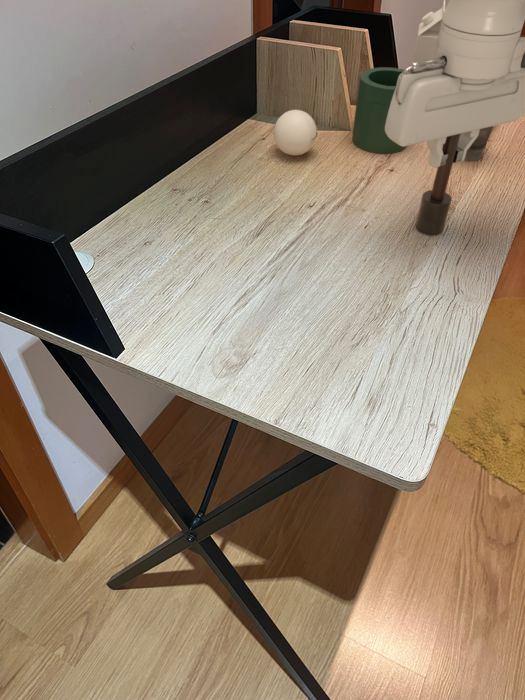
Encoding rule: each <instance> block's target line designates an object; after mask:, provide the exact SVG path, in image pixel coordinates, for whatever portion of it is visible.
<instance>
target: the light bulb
mask: <svg viewBox="0 0 525 700" xmlns="http://www.w3.org/2000/svg"><path fill="white" fill-rule="evenodd" d="M317 136H318V131H317V125H316V123H315V120H314V118H313V117H312V116H311V115H310V114H309V113H307V111H303V110H300V109H291V110H288V111H286V112H284V113H283V114H282V115H280V116H279V117H278V119H277V120H276V122H275V125H274V129H273V140H274V142H275V144H276V145H277V148H278V149H279V150H280V151H282V153H284V154H286V155H289V156H293V157H295V156H301V155H305V154H306V153H307V152H308V151H310V150H311V149H312V147H313V146H314V144H315V142H316V139H317Z"/></svg>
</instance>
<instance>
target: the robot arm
mask: <svg viewBox="0 0 525 700" xmlns="http://www.w3.org/2000/svg"><path fill="white" fill-rule="evenodd" d="M524 23H525V0H448V3H447V6H445V11H444V14H443V17H442V21H441V26H440V31H439V35H438V40H437V45H436V50H435V55H434V58H432V59H429V60H426V61H415V62H413V63H412V62H410V63H409V66H408V67H406V68H405V69H404V71H403V72H402V74H400V75H399V77H398V80H397V85H396V89H395V91H394V94H393V97H392V100H391V104H390V107H389V111H388V115H387V119H386V124H385V133H386V134H387V136H388V137H389V138H390V139H391V140H392V141H394V142H395V143H397V144H398V145H400V146H402V147H405V146H407V147H408V146H414V145H418V144H421V143H427V146H428V149H429V151H430V152H429V158H428V164H429V165H430V166H431V167H432V168H433V169H436V168H438V167H441V166H444V165H445V164H446V160H447V157H448V154H447V153H445V152H443V151H442V148H443V144H445V142H446V138H447V137H448V136H452V135H457V134H461V135H460V138H459V142H458V146H457V150H456V153H455V157H454V161H453V164H456V163H461V162H464V161H465V160H464V159H465V156H466V152H467V149H469V147H470V146H471V145H472V143H473V142H474V141H475V139H476V138H477V137H478V134H479V131H480V129H482V128H487V127H491V126H493V127H495V126H498V125H504V124H508V123H512V122H516V121H519V120H520V119H521V118H522V117H523V115H525V36H524V35H522V30H523V26H524ZM409 71H410V72H409Z"/></svg>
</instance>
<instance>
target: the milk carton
mask: <svg viewBox="0 0 525 700" xmlns="http://www.w3.org/2000/svg"><path fill="white" fill-rule="evenodd" d="M445 9H446V0H443V3H442V7H441V8H439V9H438V10H437V11H435V12H434V11H429V12H428V13H426V14H425V15H424V16H422V18H421V22H420V24H418V29H417V35H416V40H415V45H414V51H413V57H412V61H411V63H413V62H415V61H426V60H429V59H432V58H434V55H435V50H436V45H437V40H438V35H439V31H440V26H441V21H442V17H443V14H444V11H445Z"/></svg>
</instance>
